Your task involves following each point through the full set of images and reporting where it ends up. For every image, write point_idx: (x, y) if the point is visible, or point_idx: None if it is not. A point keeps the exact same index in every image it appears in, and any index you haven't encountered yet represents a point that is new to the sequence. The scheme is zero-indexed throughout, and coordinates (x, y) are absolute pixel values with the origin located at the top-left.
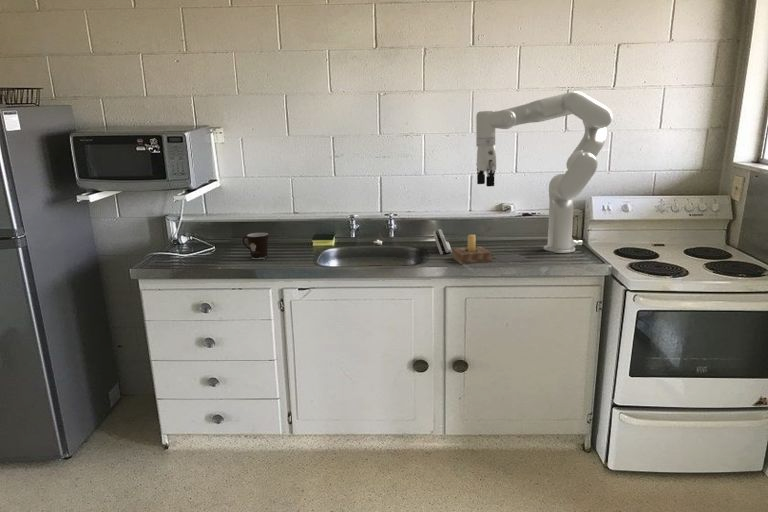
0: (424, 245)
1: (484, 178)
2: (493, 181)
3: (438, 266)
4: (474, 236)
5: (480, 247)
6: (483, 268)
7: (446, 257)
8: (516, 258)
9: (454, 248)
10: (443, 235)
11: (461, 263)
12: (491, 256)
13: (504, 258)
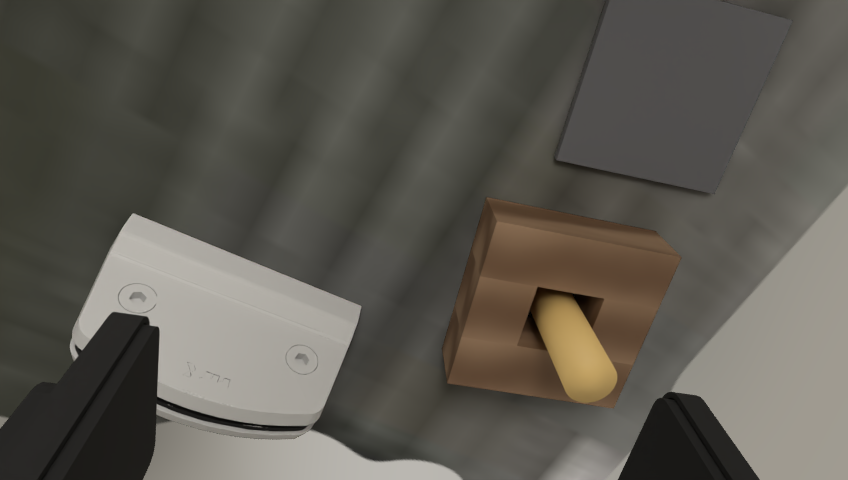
0: (53, 336)
1: (107, 416)
2: (735, 478)
3: (551, 462)
4: (616, 373)
5: (527, 239)
6: (714, 323)
7: (414, 364)
8: (710, 68)
9: (460, 375)
10: (120, 305)
11: None
12: (670, 246)
13: (660, 134)
